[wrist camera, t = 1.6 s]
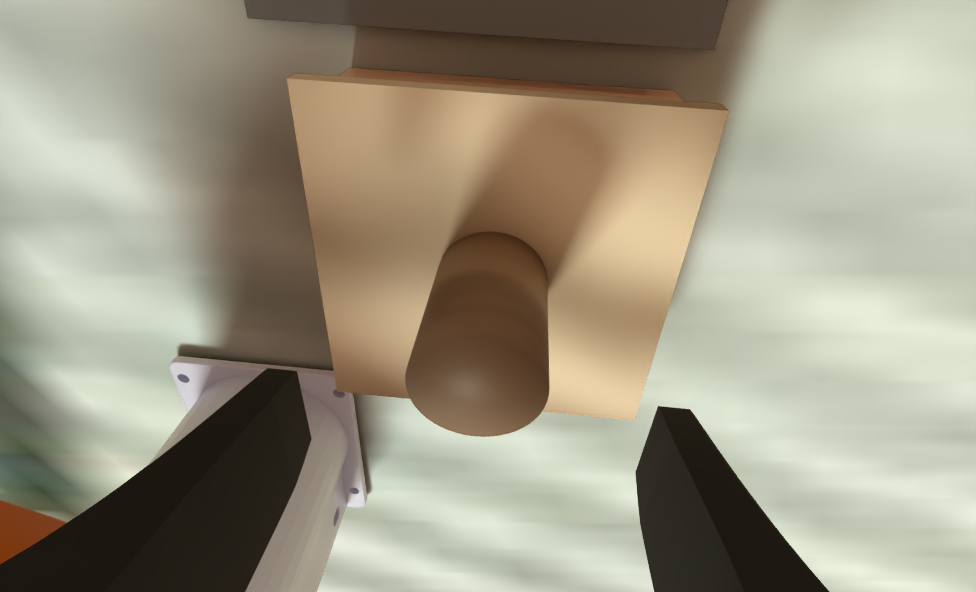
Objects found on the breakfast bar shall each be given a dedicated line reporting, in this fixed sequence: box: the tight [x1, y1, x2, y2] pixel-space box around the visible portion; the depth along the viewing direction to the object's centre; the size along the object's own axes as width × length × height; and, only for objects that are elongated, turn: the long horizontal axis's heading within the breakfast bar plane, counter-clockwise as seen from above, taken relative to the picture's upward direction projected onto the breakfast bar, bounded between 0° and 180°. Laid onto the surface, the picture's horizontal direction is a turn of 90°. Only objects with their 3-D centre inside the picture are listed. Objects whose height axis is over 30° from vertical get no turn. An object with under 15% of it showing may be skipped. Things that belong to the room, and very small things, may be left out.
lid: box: [287, 73, 729, 437], centre depth 13 cm, size 10×10×5 cm
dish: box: [339, 68, 683, 101], centre depth 17 cm, size 10×10×3 cm
